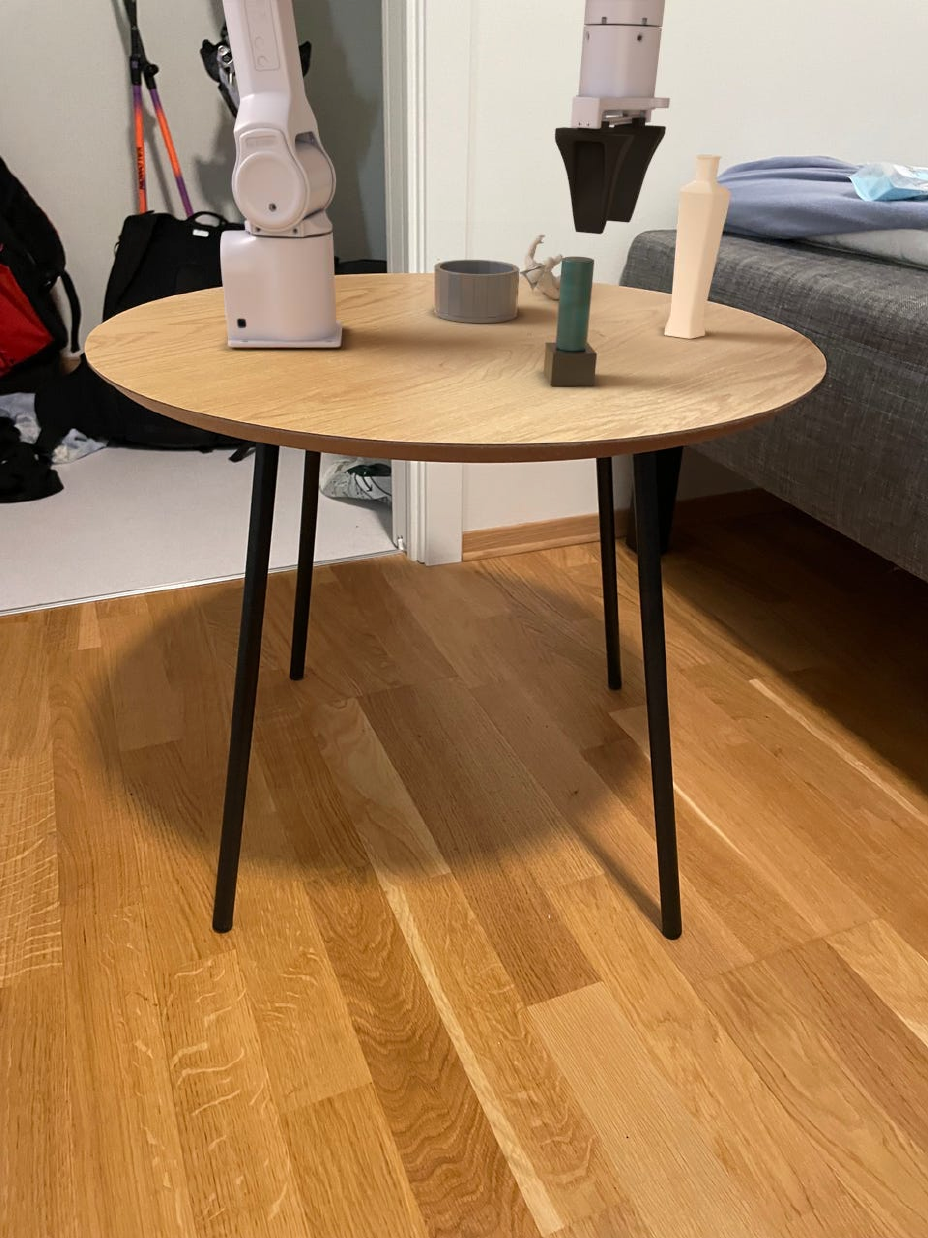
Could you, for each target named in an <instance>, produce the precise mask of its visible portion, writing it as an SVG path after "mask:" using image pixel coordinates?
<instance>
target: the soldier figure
mask: <svg viewBox="0 0 928 1238" xmlns="http://www.w3.org/2000/svg"><path fill="white" fill-rule="evenodd" d="M545 237H546V235H545V234H539V235H537V236H535V238H534V240H533V241H532V242H531V243H530V245H529V248H528V249H527V252H526V254H525V256H524V266H525V269H524V270H521V271H519V275H521V277H523V278H524V279H525V280H526V281H527V282H528V284H529V286H530V288H531V291H532V292H534V291H535V289H537V290H539V292H540V293H542V294H545V295H547V296H549V297H551V298H552V300H559V292H560V278H561V274H560V275H558V276H555V275H554V274H553V272H552V270H553V269H554V268H555V267H556V266H557V265H559V264H561V263H562V258H564V257H563V255H562V253H559V254H557V255H556V256H555V257H552V256H548V257H546V259H545V260H543V261H542V263H541V262H537V261H535V259H534V258H535V255H536V250H537V246H538V245H540V244H541V245H542V244H544V241H542V239H543V238H545Z"/></svg>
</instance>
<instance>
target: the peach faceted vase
mask: <svg viewBox="0 0 928 1238" xmlns="http://www.w3.org/2000/svg"><path fill="white" fill-rule="evenodd" d="M722 157H723V156H721V155H714V154H696V158H697V162H696V168H695V169H696V170H695V175H694V179H693V180H692V181H690V182H688V183H687V184H685V185H683V186H682V187H680V189H679V196H678V197H679V199H678V209H677V210H678V212H677V222H676V223H677V224H676V235H675V249H674V250H675V251H674V252H675V253H674V263H673V277H672V288H671V289H672V291H671V302H670V303H671V304H670V314H669V316H668V319H667V322H666V325H665V329H664V335H665V336H669V337H675V338H682V339H695V338H699V337H703V336H706V331H705V321H704V316H705V311H706V307H707V303H708V300H709V299H708V298H709V293H710V290H711V287H712V286H711V285H712V281H713V276H714V272H715V267H716V263H717V258H718V255H719V249H720V245H721V240H722V237H723V232H724V229H725V228H724V227H725V222H726V219H727V215H728V214H727V213H728V209H729V205H730V201H731V197H732V191H731V190H729V189H728V188H726V187H725V186H724V185H722V184H721V183H719V182H718V181H717V179H718V173H719V165H720V160H721V159H722Z"/></svg>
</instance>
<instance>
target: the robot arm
mask: <svg viewBox="0 0 928 1238" xmlns="http://www.w3.org/2000/svg"><path fill="white" fill-rule="evenodd" d="M221 1H222V6H223V12H224V17H225V24H226V28H227V34H228V39H229V46H230V51H231V56H232V63H233V68H234V74H235V79H236V85H237V91H238V95H239V96H238V97H239V106H238V111H237V113H236V119H235V122H234V128H233V137H234V142H235V149H236V156H235V157H236V158H235V163H234V167H233V171H232V174H231V191H232V196H233V199H234V202H235V205H236V207H237V208H238V210H239V212H240V213H241V215H242V216H243V217H244V218H245V219H246V220H245V221H244V230H224V231H223V232H222V233H221V236H220V250H219V251H220V269H221V271H220V272H221V281H222V289H223V300H224V316H225V321H226V327H227V329H226V330H227V339H228V340H227V347H229V348H340V347H341V346H342V339H343V322H342V321H341V320H337V301H336V300H337V299H336V280H335V279H336V278H335V255H334V254H335V253H334V252H335V251H334V233H333V223H332V222H331V220H330V219H329V217H328V215H327V213H326V209H328V207H329V205H330V204H331V203H332V200H333V198H334V197H335V192H336V188H337V177H336V176H337V175H336V170H335V167H334V164H333V162H332V160H331V158H330V157H329V155H328V153H327V151H326V150H325V148H324V146H323V145H322V141H321V138H320V135H319V134H320V133H319V127H318V122H317V119H316V117H315V114H314V112H313V109H312V107H311V105H310V103H309V101H308V98H307V95H306V88H305V83H304V76H303V69H302V63H301V56H300V50H299V42H298V37H297V30H296V23H295V16H294V10H293V9H294V8H293V2H292V0H221ZM584 6H585V7H584V20H583V28H582V29H583V30H582V44H581V55H580V56H581V57H580V71H579V82H578V83H579V84H578V94H576V95H575V96H573V97H572V103H571V104H572V105H571V106H572V107H571V115H570V116H571V117H570V118H571V119H570V127H566V126H565V127H563V126H561V127H556V128H555V130H554V141H555V144H556V146H557V148H558V151H559V153H560V156H561V159H562V161H563V165H564V169H565V172H566V176H567V182H568V187H569V195H570V201H571V210H572V211H571V212H572V218H573V225H574V230H575V233H582V234H593V235H602V234H603V233H604V231H605V229H606V225H607V222H614V223H615V222H616V223H617V222H618V223H627V224H628V223H630V222H631V220H632V218H633V215H634V212H635V209H636V207H637V203H638V200H639V196H640V194H641V190H642V186H643V184H644V179H645V176H646V174H647V171H648V169H649V166H650V164H651V161H652V159H653V157H654V155H655V153H656V151H657V149H658V147H659V146H660V144H661V143H662V141H663V139H665V138H664V137H665V136H666V130H667V127H666V126H665V125H654V124H653V125H651V124H650V125H648V124H646V123H651V121H652V112H653V111H654V110H656V109H669V108H670V101H671V98H670V97H659V96H658V97H656V96H655V95H656V94H655V93H656V84H657V77H658V68H659V59H660V49H661V40H662V33H663V24H664V17H665V15H664V14H665V7H666V0H585V5H584Z"/></svg>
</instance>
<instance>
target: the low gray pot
mask: <svg viewBox="0 0 928 1238" xmlns="http://www.w3.org/2000/svg"><path fill="white" fill-rule="evenodd" d="M433 270H434V271H433V272H434V274H433V275H434V276H433V309H434V311H433V312H434V315H435V316H436V317H437V318H441V319H443V320H447V321H451V322H458V323H466V324H467V323H469V324H495V323H502V322H507V321H511V320H513V319H515V318H516V317H517V316H518V314H517V313H518V307H519V290H520V289H519V286H520V267H519V266H517V265H516V264H513V263H510V262H509V263H508V262H504V261H497V260H491V259H454V260H446V261H442V262H438V263H436V264H434V267H433Z"/></svg>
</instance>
